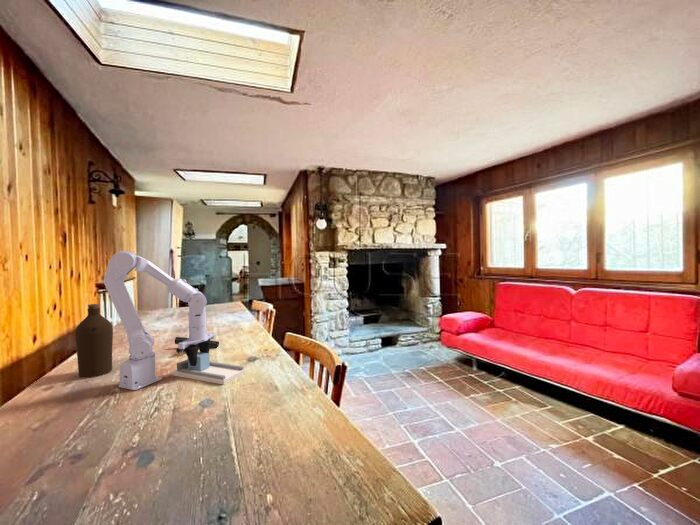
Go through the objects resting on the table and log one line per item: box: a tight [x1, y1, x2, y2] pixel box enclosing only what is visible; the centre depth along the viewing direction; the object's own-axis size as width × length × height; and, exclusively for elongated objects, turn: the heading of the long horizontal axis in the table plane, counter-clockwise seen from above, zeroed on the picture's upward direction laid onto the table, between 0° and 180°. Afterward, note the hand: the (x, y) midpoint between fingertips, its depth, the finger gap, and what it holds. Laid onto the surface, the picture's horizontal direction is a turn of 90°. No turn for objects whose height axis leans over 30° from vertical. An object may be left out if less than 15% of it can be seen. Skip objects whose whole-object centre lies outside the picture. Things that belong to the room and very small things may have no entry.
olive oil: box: [74, 303, 114, 378], centre depth 113 cm, size 11×11×25 cm
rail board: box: [172, 358, 246, 385], centre depth 110 cm, size 10×23×4 cm, turn 69°
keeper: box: [187, 351, 211, 371], centre depth 112 cm, size 4×6×5 cm, turn 68°
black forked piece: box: [174, 336, 220, 353], centre depth 138 cm, size 5×20×15 cm
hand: (198, 363), depth 112 cm, fingers closed on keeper, 4 cm apart
